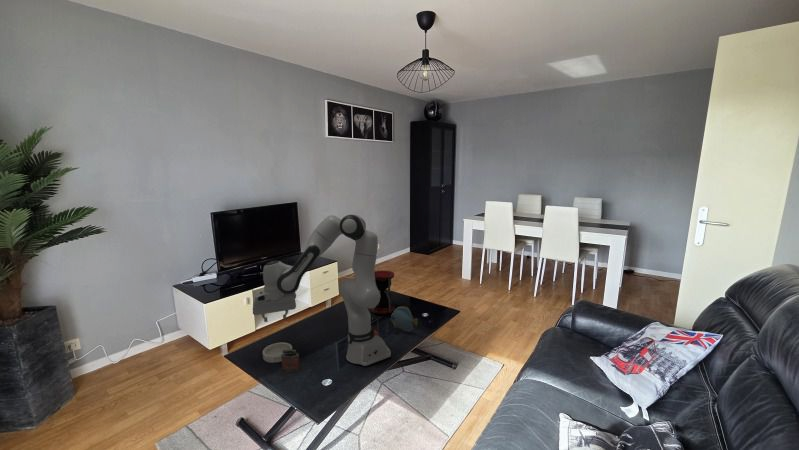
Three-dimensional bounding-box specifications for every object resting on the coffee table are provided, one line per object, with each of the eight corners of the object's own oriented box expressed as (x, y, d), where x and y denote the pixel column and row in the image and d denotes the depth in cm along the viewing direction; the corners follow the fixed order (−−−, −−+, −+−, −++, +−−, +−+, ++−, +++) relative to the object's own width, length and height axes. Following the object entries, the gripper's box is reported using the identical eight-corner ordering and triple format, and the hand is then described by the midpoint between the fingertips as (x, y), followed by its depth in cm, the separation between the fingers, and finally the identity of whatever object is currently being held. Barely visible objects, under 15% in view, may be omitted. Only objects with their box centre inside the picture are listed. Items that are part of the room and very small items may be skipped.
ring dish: (290, 345, 180) (290, 340, 179) (293, 358, 167) (293, 353, 167) (262, 351, 174) (262, 346, 174) (263, 365, 162) (263, 359, 161)
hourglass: (365, 309, 227) (365, 273, 223) (384, 303, 238) (383, 268, 234) (381, 316, 215) (380, 279, 211) (399, 309, 226) (399, 273, 222)
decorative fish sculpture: (395, 322, 207) (395, 299, 205) (422, 330, 196) (423, 306, 194) (383, 330, 197) (383, 305, 195) (411, 339, 186) (411, 313, 184)
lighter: (300, 367, 160) (299, 347, 159) (298, 371, 157) (297, 351, 155) (283, 367, 160) (281, 348, 158) (281, 371, 156) (279, 352, 155)
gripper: (295, 288, 173) (296, 314, 175) (251, 294, 164) (253, 320, 167) (296, 292, 167) (297, 318, 169) (251, 298, 159) (253, 326, 161)
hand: (275, 319), depth 168 cm, fingers open, 7 cm apart
